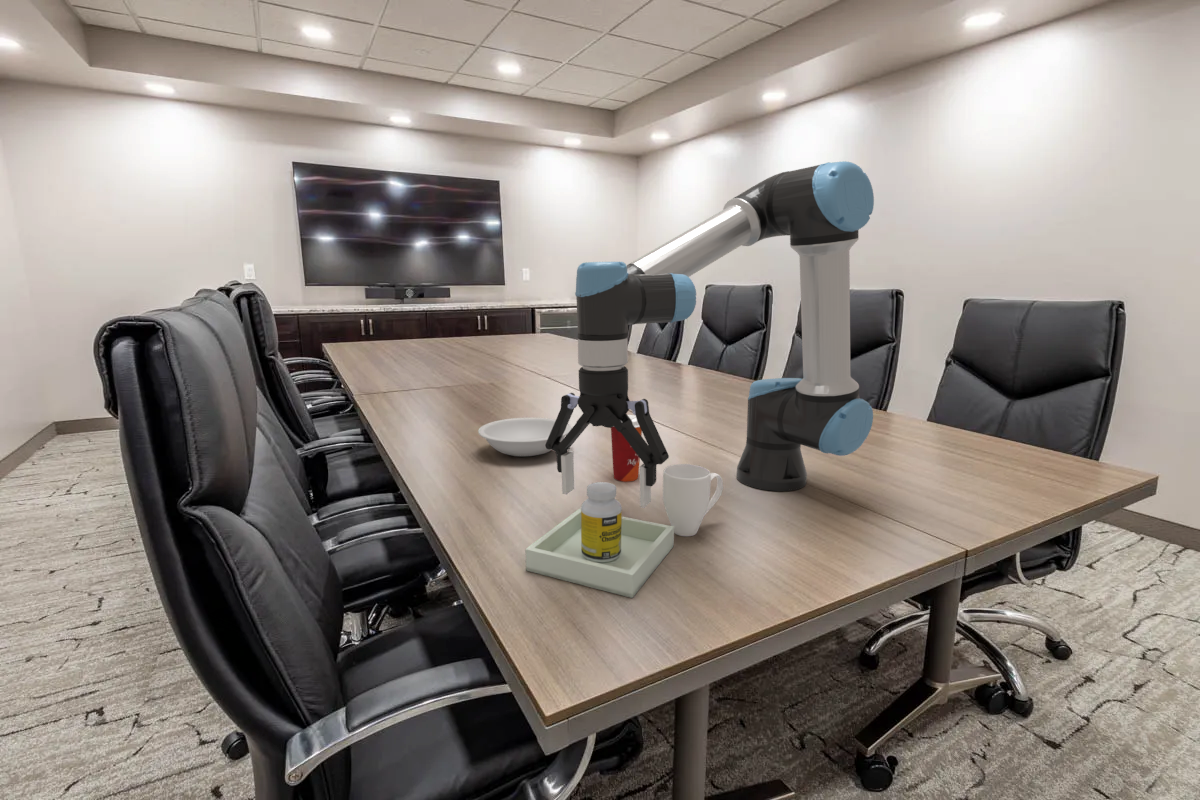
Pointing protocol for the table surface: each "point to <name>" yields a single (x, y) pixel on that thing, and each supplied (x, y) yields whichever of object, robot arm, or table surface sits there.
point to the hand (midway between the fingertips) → (605, 497)
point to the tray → (620, 576)
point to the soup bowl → (520, 435)
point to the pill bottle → (601, 523)
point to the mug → (688, 496)
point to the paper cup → (624, 455)
